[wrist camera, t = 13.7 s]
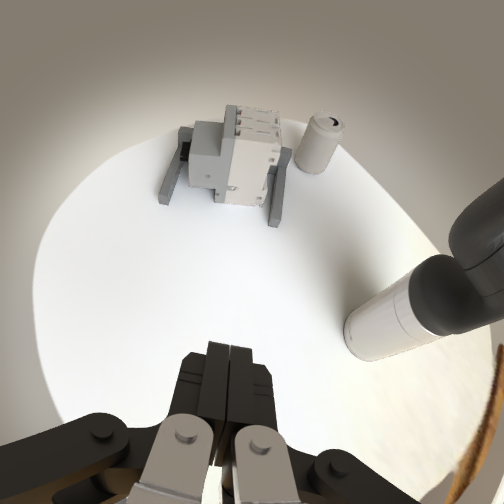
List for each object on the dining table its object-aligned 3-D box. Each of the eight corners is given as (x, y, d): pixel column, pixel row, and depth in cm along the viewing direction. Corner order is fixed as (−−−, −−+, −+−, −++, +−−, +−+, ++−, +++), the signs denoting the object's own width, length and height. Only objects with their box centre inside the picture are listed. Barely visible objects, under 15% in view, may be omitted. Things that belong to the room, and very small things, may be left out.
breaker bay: (283, 170, 59) (292, 146, 53) (277, 227, 53) (287, 205, 47) (180, 149, 57) (180, 123, 52) (159, 203, 51) (156, 178, 45)
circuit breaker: (184, 166, 56) (185, 101, 42) (261, 174, 58) (280, 112, 45) (178, 199, 52) (177, 133, 39) (262, 207, 54) (283, 145, 41)
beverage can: (328, 176, 61) (351, 134, 50) (298, 176, 59) (318, 131, 48) (319, 153, 63) (339, 110, 53) (290, 152, 62) (307, 107, 51)
